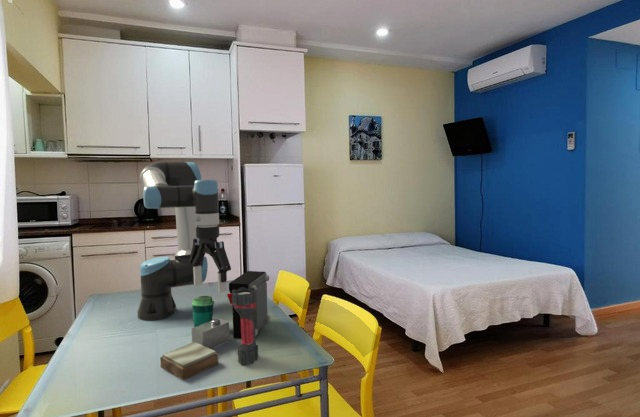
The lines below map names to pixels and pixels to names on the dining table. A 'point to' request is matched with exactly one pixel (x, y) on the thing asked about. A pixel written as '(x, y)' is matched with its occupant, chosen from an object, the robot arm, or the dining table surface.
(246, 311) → the flashlight
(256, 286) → the electrical component
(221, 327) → the housing
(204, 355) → the stand
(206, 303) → the cup
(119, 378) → the dining table surface
